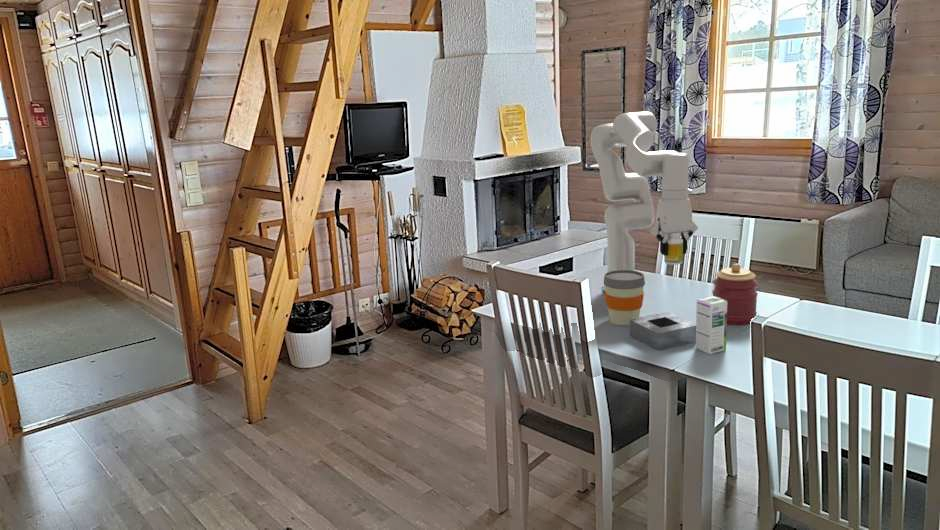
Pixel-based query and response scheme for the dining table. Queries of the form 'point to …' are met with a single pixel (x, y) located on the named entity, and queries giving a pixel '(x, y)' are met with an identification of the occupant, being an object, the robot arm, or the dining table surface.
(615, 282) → the reusable coffee cup
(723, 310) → the syrup box
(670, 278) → the dining table surface
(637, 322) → the steel collar
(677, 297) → the dining table surface
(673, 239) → the supplement bottle
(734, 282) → the canister
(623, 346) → the dining table surface
